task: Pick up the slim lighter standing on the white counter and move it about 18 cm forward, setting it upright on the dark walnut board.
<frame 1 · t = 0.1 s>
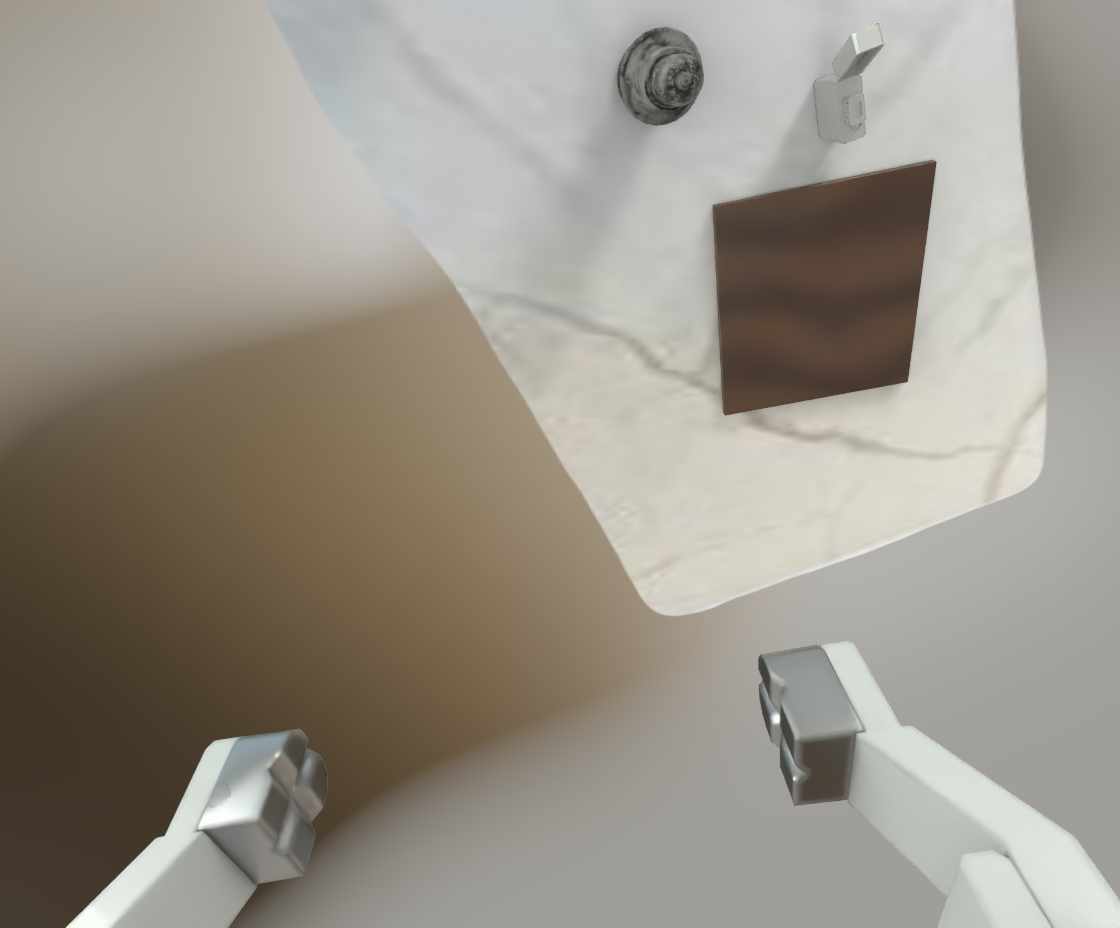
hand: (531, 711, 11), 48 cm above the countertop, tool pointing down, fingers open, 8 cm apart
lighter: (824, 85, 48), on the countertop
walnut board: (816, 299, 57), on the countertop
tarnished pewter finial: (652, 76, 47), on the countertop
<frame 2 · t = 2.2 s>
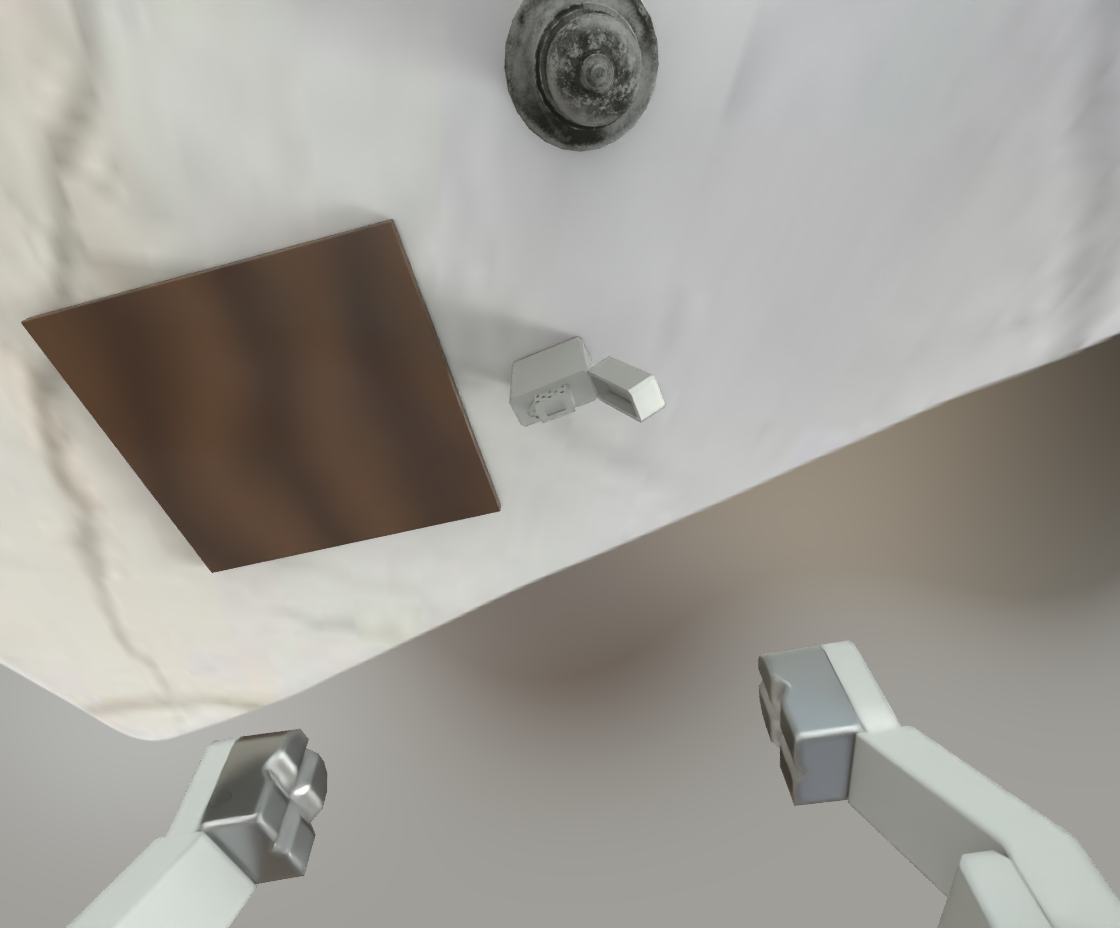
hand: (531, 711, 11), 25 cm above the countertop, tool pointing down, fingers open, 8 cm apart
lighter: (576, 351, 34), on the countertop
walnut board: (289, 421, 36), on the countertop
tarnished pewter finial: (576, 63, 27), on the countertop
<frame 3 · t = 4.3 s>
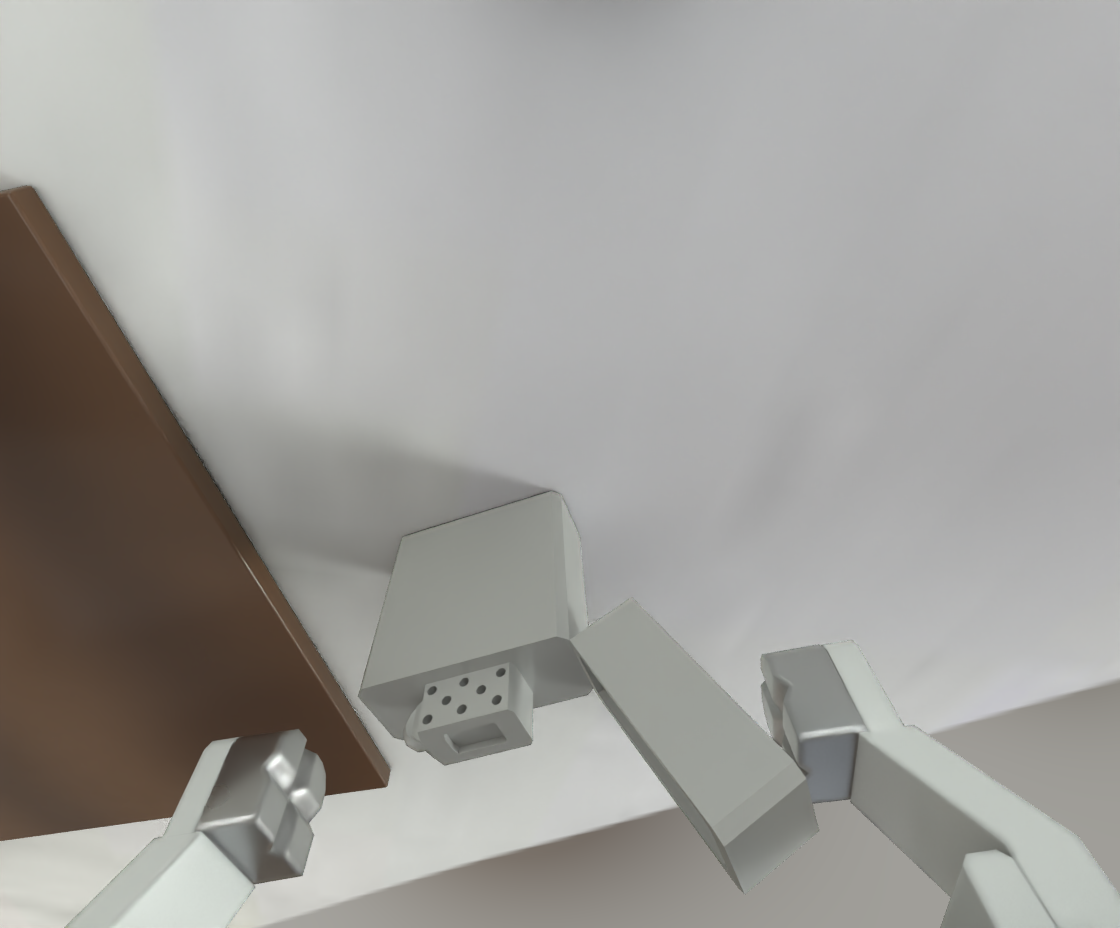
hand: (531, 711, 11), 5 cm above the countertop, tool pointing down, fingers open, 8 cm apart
lighter: (547, 518, 15), on the countertop, touching gripper
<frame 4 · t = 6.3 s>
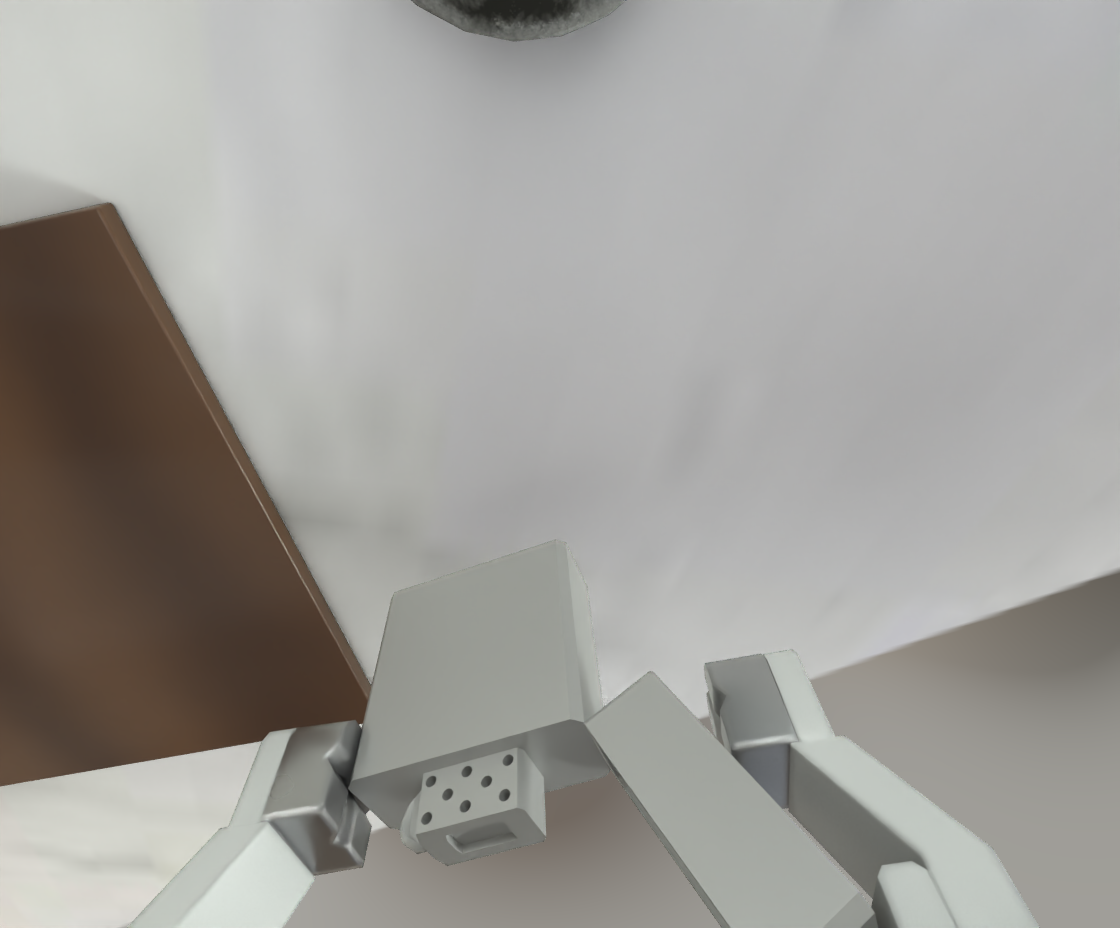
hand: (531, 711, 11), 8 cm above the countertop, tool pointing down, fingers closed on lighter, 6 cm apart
lighter: (551, 567, 14), point 5 cm above the countertop, touching gripper
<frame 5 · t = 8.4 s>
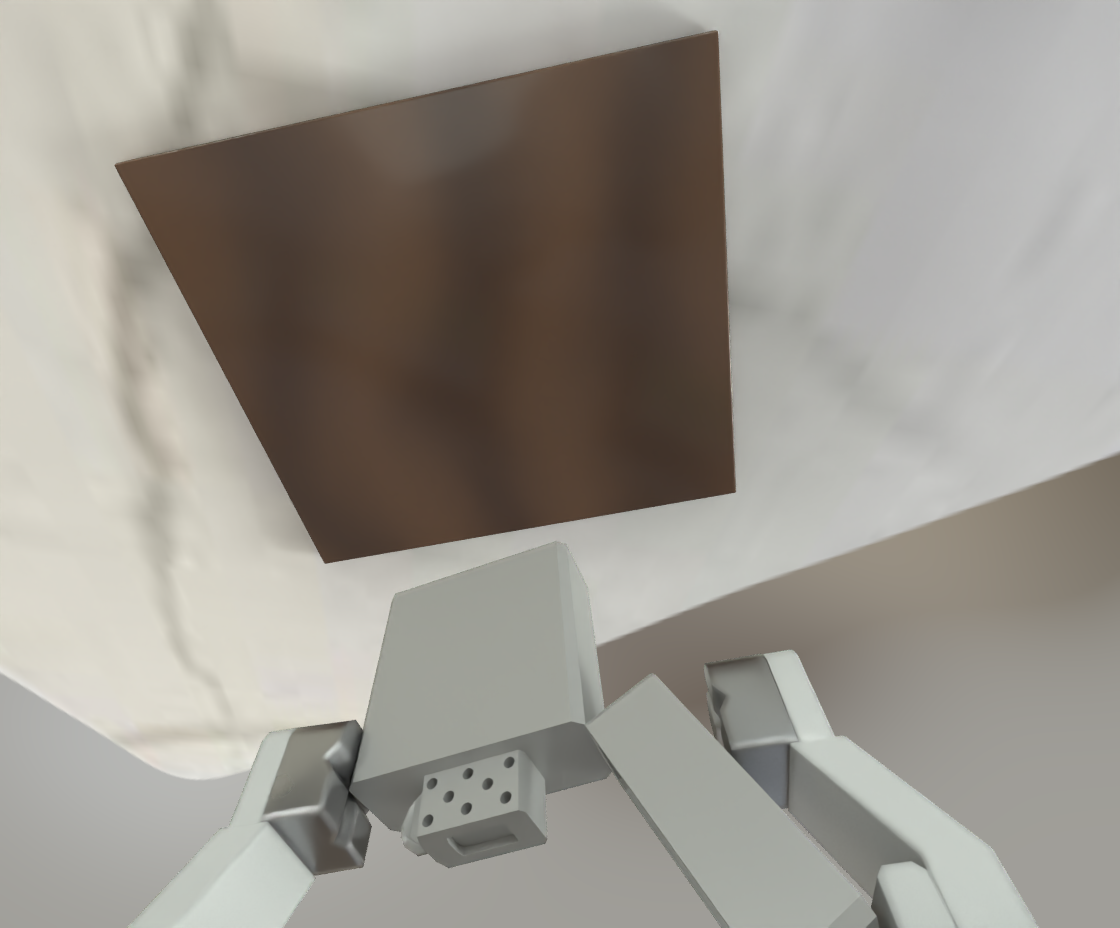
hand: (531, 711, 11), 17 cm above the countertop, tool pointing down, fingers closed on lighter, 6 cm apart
lighter: (552, 568, 14), point 14 cm above the countertop, touching gripper
walnut board: (478, 350, 25), on the countertop
when the fingers open (4 cm above the countertop, at t = 12.0 s): lighter stays where it is, resting on walnut board.
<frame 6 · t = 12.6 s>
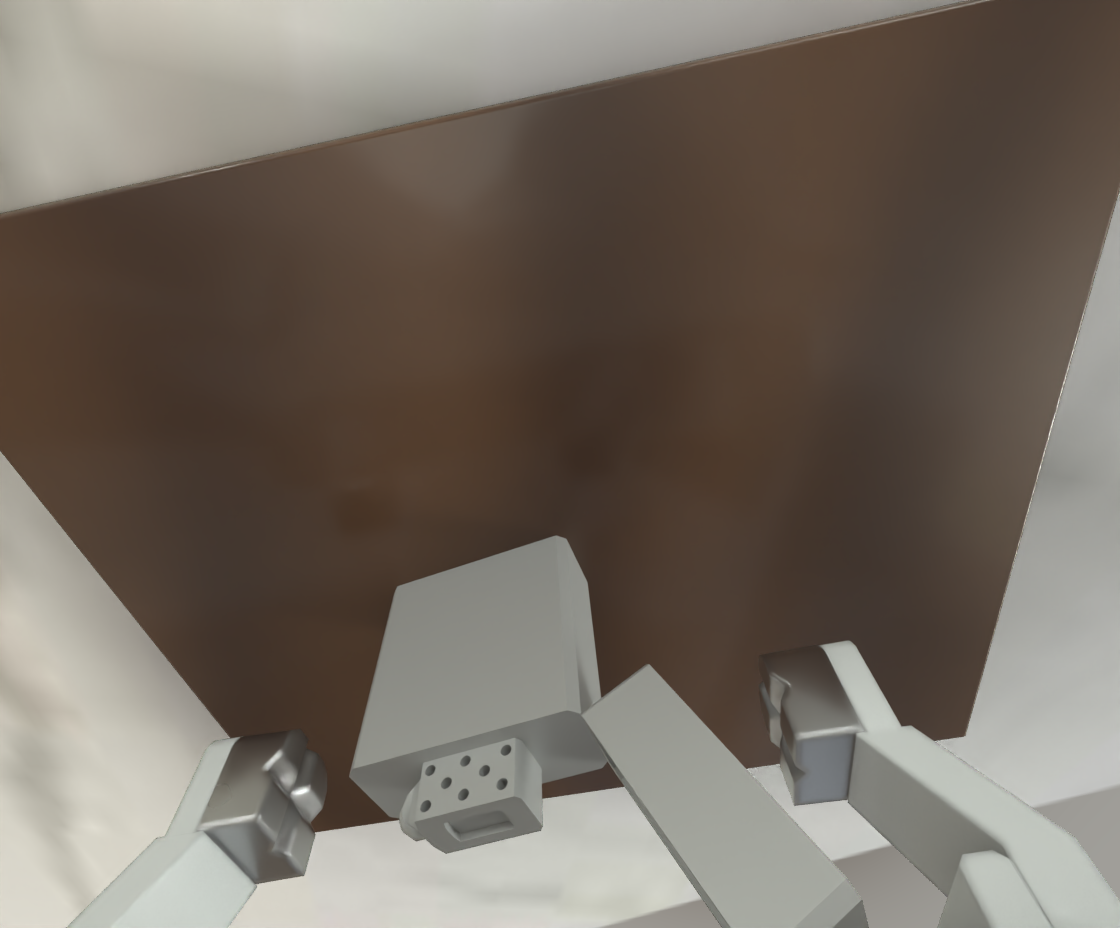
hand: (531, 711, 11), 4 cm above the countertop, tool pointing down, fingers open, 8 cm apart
lighter: (552, 562, 14), resting on walnut board
walnut board: (571, 550, 14), on the countertop
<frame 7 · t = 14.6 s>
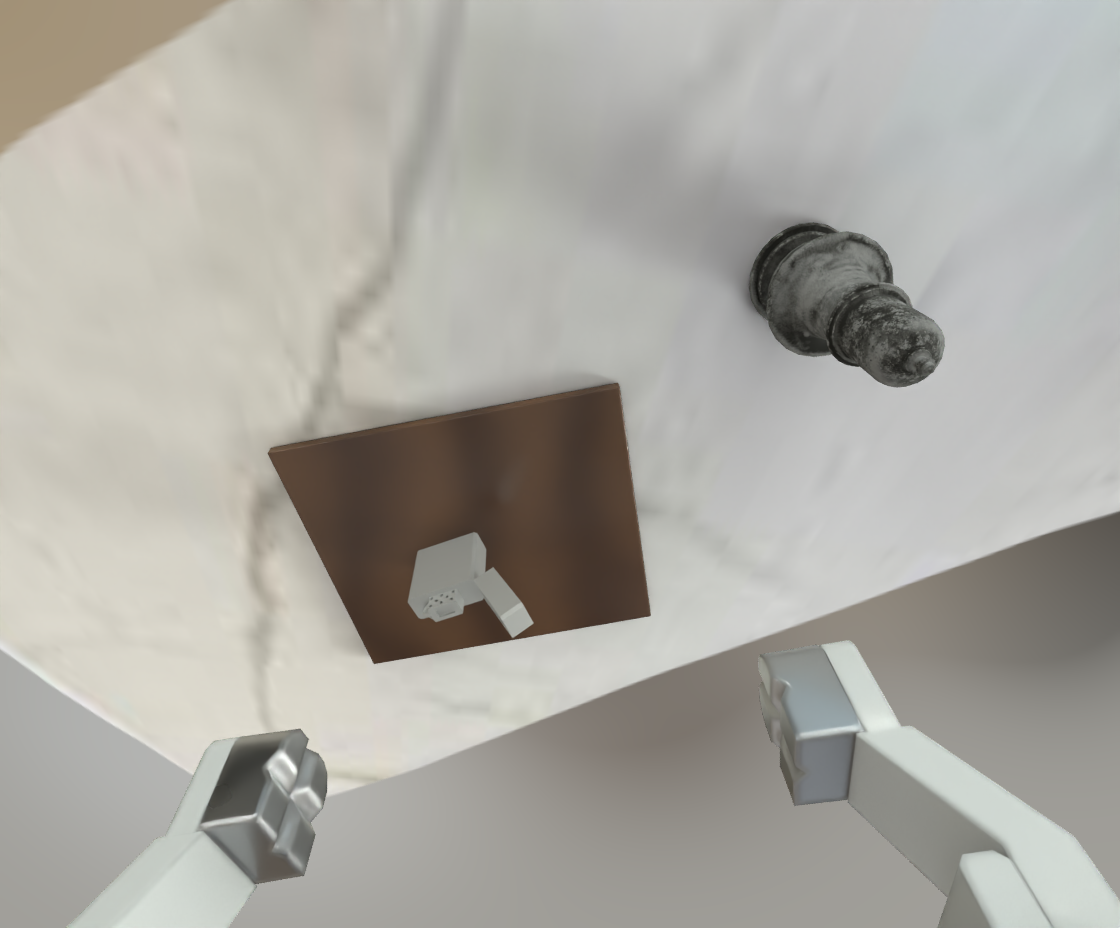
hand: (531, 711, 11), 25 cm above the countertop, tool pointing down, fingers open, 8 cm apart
lighter: (473, 542, 40), resting on walnut board
walnut board: (481, 537, 40), on the countertop
tarnished pewter finial: (798, 275, 32), on the countertop
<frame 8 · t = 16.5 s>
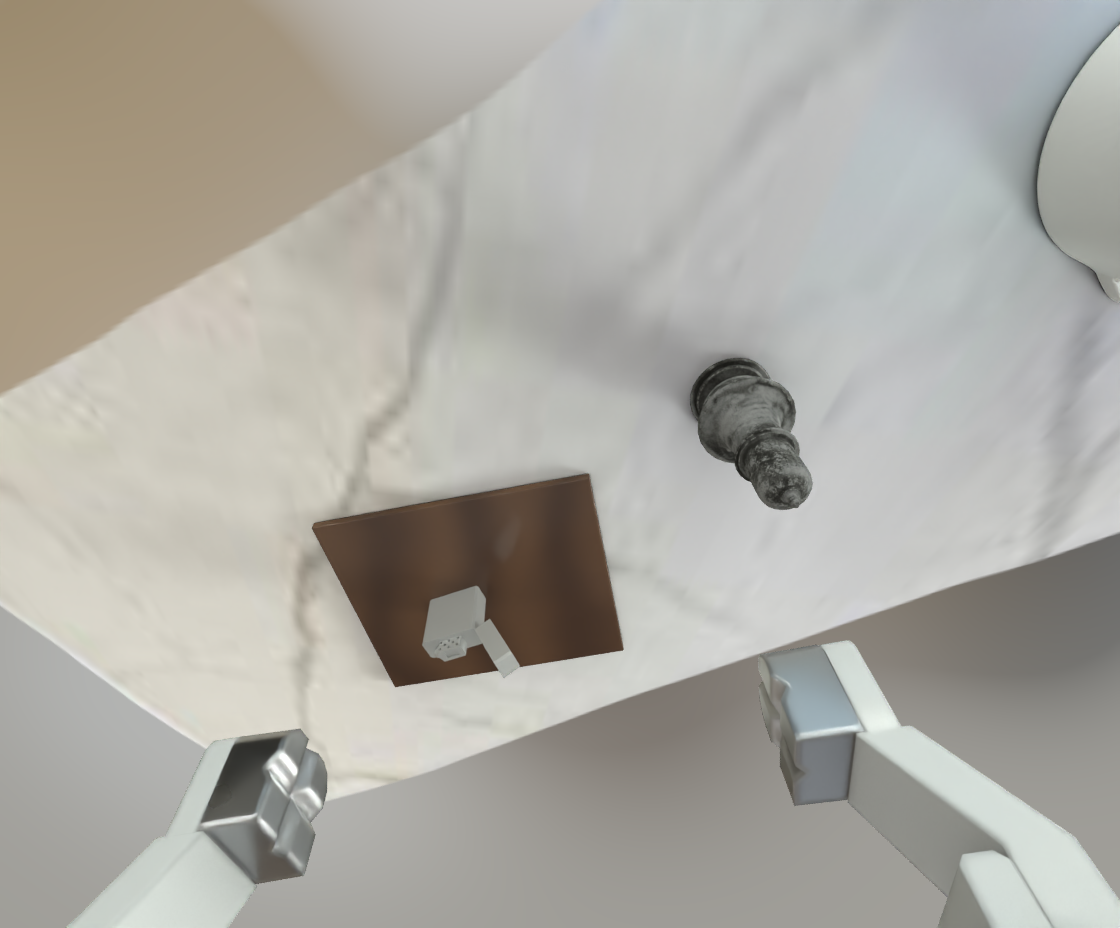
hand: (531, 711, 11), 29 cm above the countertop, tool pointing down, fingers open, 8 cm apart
lighter: (475, 593, 49), resting on walnut board
walnut board: (481, 589, 49), on the countertop
tarnished pewter finial: (729, 394, 41), on the countertop
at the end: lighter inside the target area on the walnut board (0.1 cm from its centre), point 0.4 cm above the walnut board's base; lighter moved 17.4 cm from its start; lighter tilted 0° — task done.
